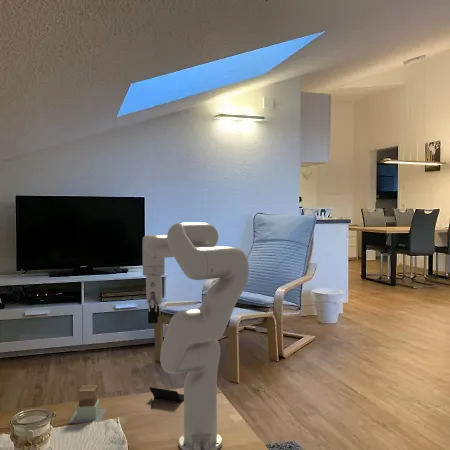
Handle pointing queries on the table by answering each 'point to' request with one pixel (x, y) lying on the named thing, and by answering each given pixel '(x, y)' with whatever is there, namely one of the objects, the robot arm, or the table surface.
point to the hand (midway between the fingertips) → (153, 319)
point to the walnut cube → (88, 395)
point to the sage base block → (88, 411)
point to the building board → (99, 418)
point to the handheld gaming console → (167, 395)
